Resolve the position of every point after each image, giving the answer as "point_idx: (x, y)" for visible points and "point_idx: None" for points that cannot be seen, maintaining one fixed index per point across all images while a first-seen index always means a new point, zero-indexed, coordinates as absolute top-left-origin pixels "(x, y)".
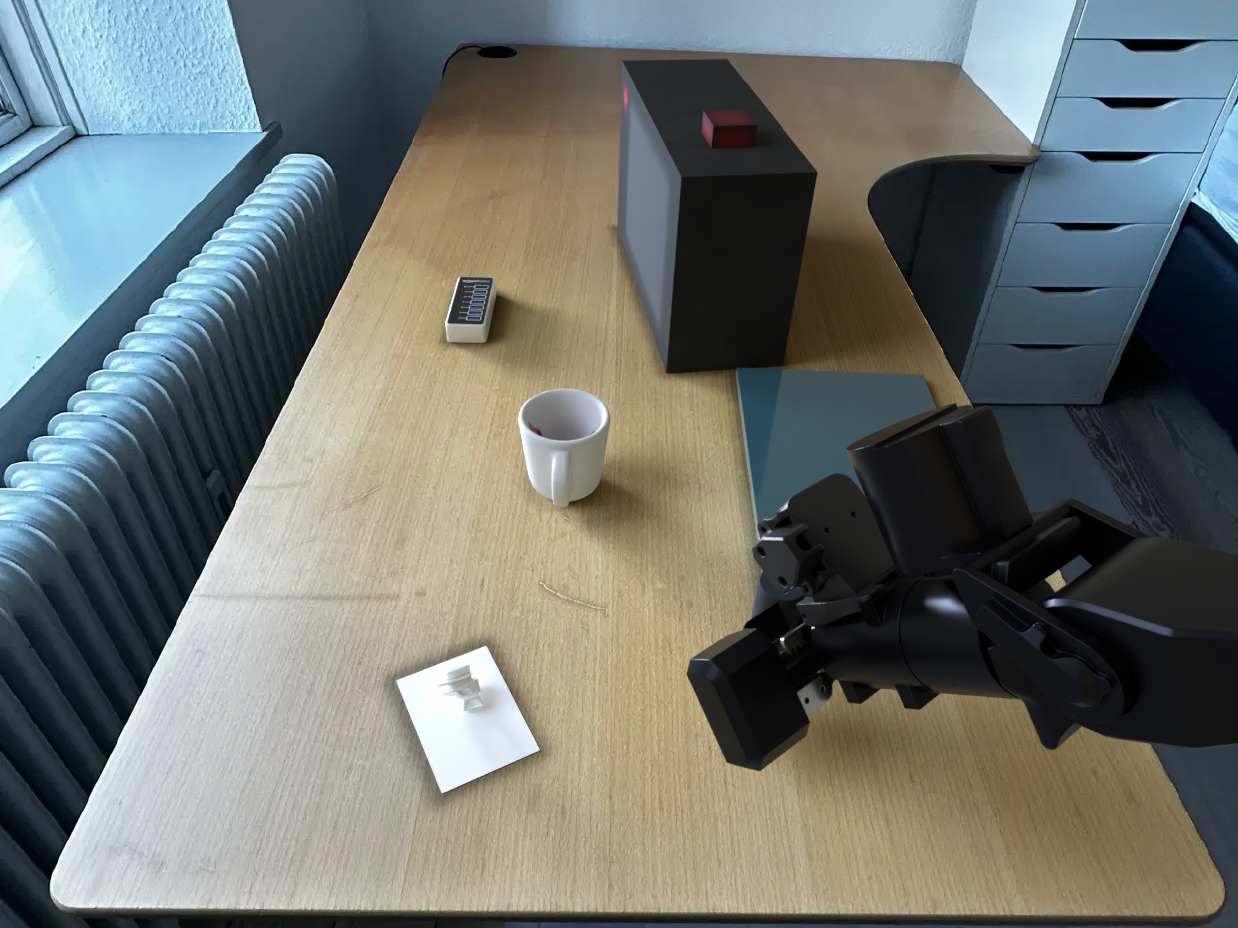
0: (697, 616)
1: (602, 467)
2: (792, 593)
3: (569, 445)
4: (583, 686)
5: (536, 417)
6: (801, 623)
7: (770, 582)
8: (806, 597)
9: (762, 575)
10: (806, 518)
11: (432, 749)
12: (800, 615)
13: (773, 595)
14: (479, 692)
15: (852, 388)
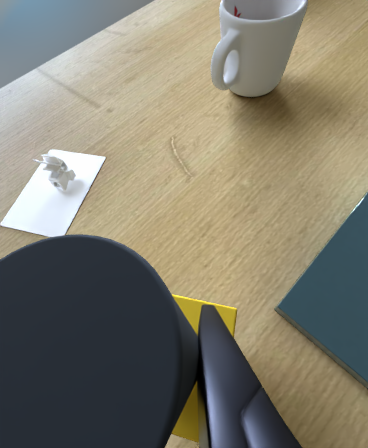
0: (250, 223)
1: (276, 73)
2: None
3: (241, 24)
4: (125, 218)
5: (248, 8)
6: (200, 412)
7: (8, 307)
8: (250, 385)
9: (32, 251)
10: None
11: (23, 197)
12: (201, 404)
13: None
14: (74, 181)
15: None
